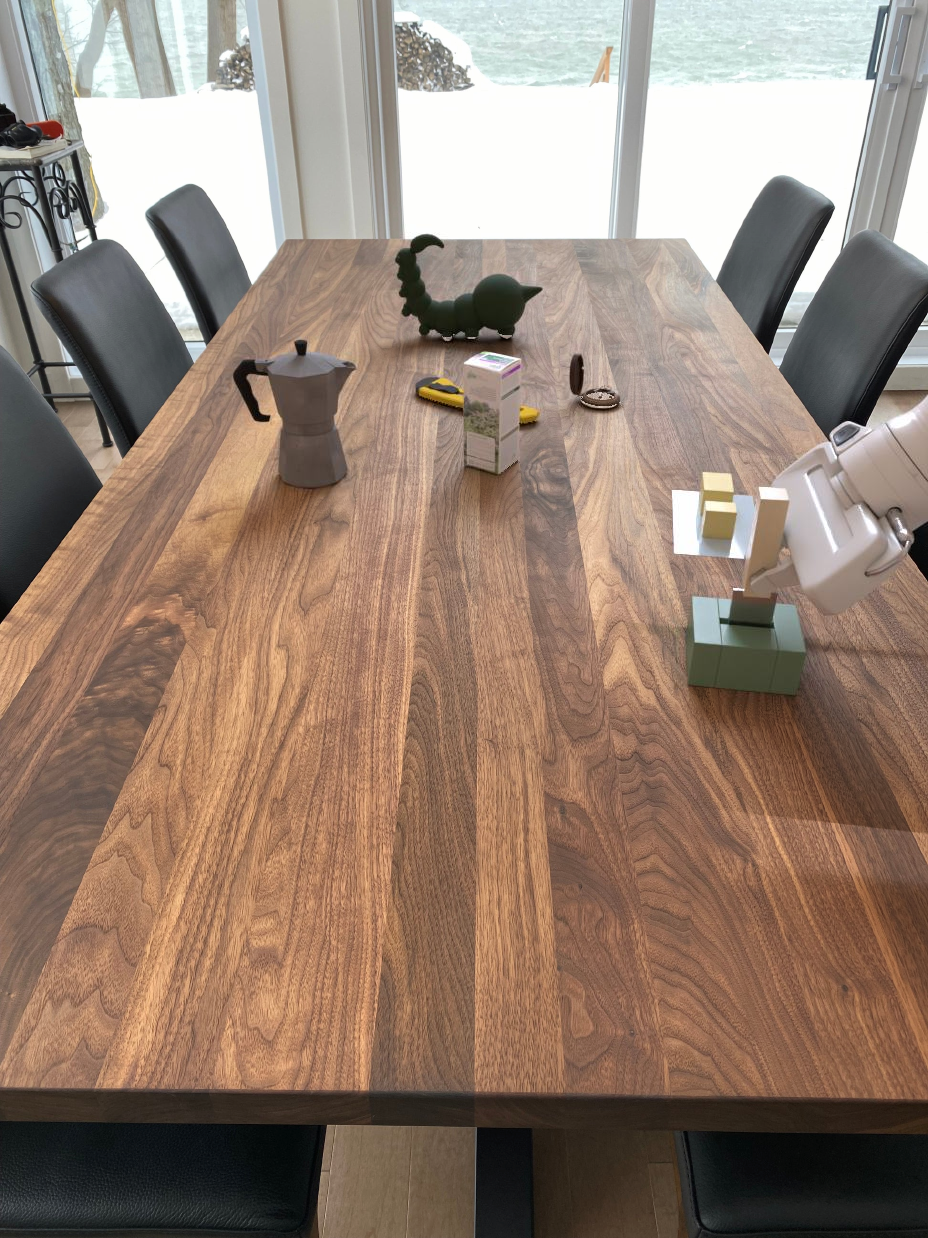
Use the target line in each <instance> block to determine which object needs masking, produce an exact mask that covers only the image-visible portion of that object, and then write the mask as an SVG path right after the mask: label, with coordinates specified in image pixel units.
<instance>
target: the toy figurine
mask: <svg viewBox="0 0 928 1238" xmlns="http://www.w3.org/2000/svg"><path fill="white" fill-rule="evenodd" d="M432 246H434V247H435V246H436V247H438V248H440V249H444V248H445V244H444V242H443V240H442V239H440V238H439V237H438V236H436V235H434V234H431V233H424V234H419V235H417V236H415V237H413V238H412V239H411V241H410V244H409V247H403V248H401V249H400V250H399V251H398V252H397V254H396V257H395V258H394V262H395V263H396V264H397V265H398V270H397V272H396V278H397V279H398V281H401V285H400V289H399V290H398V296H399V297H400V298H401V299H403V298H405V302H404V303H403V305H402V308H401V310H400V311H401V315H402V317H405V318H407V317H410V316H411V315H412V316H413V317H415V318H417V320H418V321H417V322H418V323H419V324H420V325H419V326H418V333H419V334H420V336H423V335H424V337H425V335H426V336H428V335H429V334H430V332H431V331H435V332H436V333H437V334H439V333H440V334H439V335H440V336H441V337H442V336H443V337H451V336H453V334H457V333H458V334H460V333H463V334H464V337H465V338H466V337H477V336H478V337H479V335H480V331H481V330H482V329H484V328H487V329H488V330H492V331H497V334H498V333H499V334H502V335H513V334H514V333H515V334H516V324H517V323H518V322H519V321H520V320H521V318H522V317H523V314H524V312H525V309H526V305H527V303H528V302H529V301H530V300H531V299H533V298H534V297H535V296H537V295H538V294H541V292H542V291H543V290H544V289H543V287H542V286H537V285H522V284H520V282H519V281H518V280H517V279H516V278H514V277H512V276H510V275H508V274H504V273H493V274H490V275H487V276H486V277H484V278H483V279H481V280H480V281H479V282H478V283H477V284H476V286H475V288H474V290H473V291H472V292H466V293H463V294H461V295H459V296H457V297H456V298H455V300H451V299H447V300H442V301H438V300H436V299H432V296H431V295H430V293H428V291H426V289H427V288H426V283H425V281H424V280H423V279H422V278H421V276H422V270H421V268H420V267H421V266H419V264H418V263H417V260H418V259H417V254H420V253H421V252H423V251H425V249H427V248H428V247H432ZM459 332H460V333H459ZM441 334H442V335H441ZM458 334H457V335H458ZM499 334H498V335H499ZM515 334H514V335H515ZM453 337H454V336H453Z"/></svg>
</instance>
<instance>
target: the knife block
mask: <svg viewBox="0 0 928 1238" xmlns="http://www.w3.org/2000/svg"><path fill="white" fill-rule="evenodd" d="M731 599H732V598H723V597H722V598H720V597H718V598H717V597H707V596H696V595H691V599H690V605H689V611H688V617H687V624H686V630H685V639H684V640H685V657H686V659H685V660H686V661H685V662H686V683H687V686H694V687H704V688H714V689H715V688H716V689H724V690H732V691H733V690H734V691H745V692H754V693H764V694H776V695H784V696H785V695H787V696H796V695H797V693H798V690H799V685H800V682H801V677H802V674H803V669H804V666H805V661H806V657H807V653H808V652H807V648H806V644H805V640H804V634H803V630H802V626H801V620H800V615H799V612H798V605H797V604H790V603H778V602H776V606H775V611H774V616H773V620H772V625H771V628H760V627H749V626H738V625H727V622H728V617H729V611H730V605H731Z"/></svg>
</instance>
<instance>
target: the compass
mask: <svg viewBox="0 0 928 1238" xmlns="http://www.w3.org/2000/svg"><path fill="white" fill-rule="evenodd" d="M583 367H585V364H584V358H583V355H582V353H574V354H573V355H572V357H571V360H570V365H569V376H568V380H569V389H570V392H571V394H572V395H574V396H578V397H579V396H583V398H582V397H581V398H582V399H581V400H582V401H584V402H585V403H588V404H591V405H595V406H612V405H615V404H618V403H619V402H620V401H621V396H620V395H619V394H617V393H616V391H614V390H613V389H612V386H609V385H602V386H600V387H598V388H591V389H588V390H586V391H584V392H582V391H583V386H584V379H585V369H583ZM603 386H604V387H603ZM605 386H607V387H605ZM609 387H610V388H609ZM608 388H609V389H608ZM595 392H596V393H597V392H602V393H603V394H605V393H607V394H610V395H612V396H614V398H612V396H609V398H611V399H606V400H600V399H601V398H602V396H603V394H601V396H599V397H598V398H599V399H595V398H594V399H593V398H590V397H588V396H587V395H588V394H591V393H595Z"/></svg>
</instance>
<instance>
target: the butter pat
mask: <svg viewBox="0 0 928 1238" xmlns="http://www.w3.org/2000/svg"><path fill="white" fill-rule="evenodd" d="M736 517H737V509H736V503H729V502H715V501H705V505H704V511H703V518H702V524H701V532H702V537H709V538H722V539H733V534H734V528H735V522H736Z"/></svg>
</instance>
